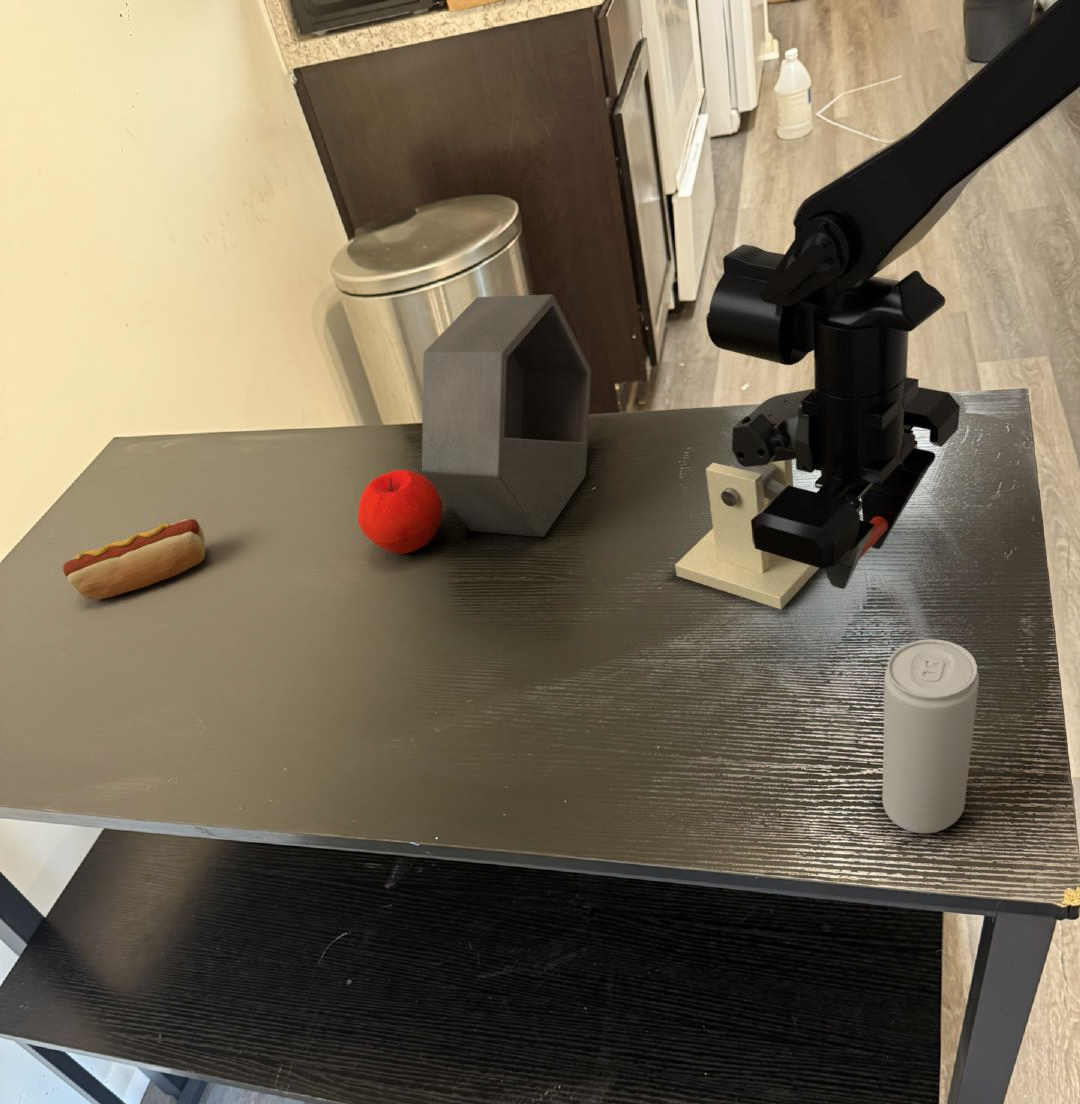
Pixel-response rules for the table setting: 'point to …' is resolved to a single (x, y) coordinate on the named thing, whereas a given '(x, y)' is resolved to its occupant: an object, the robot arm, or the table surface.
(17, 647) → the table surface
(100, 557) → the food
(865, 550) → the lever
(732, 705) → the table surface
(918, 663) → the beverage can
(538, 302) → the planter
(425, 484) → the apple
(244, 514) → the table surface
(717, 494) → the bracket
